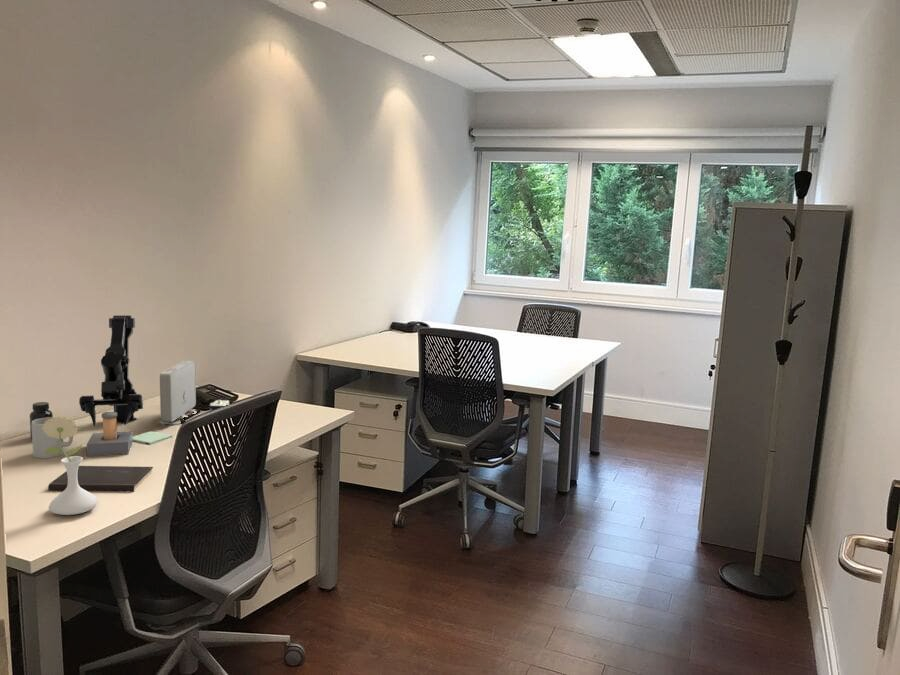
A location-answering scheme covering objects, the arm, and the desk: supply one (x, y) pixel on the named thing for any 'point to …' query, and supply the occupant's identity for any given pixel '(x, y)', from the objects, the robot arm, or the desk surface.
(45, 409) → the supplement bottle
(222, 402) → the pneumatic valve
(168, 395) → the network device
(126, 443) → the grey peg hole block
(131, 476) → the hardcover book
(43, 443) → the mug
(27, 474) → the desk surface
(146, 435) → the mat
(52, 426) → the flower in vase
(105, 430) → the plug
